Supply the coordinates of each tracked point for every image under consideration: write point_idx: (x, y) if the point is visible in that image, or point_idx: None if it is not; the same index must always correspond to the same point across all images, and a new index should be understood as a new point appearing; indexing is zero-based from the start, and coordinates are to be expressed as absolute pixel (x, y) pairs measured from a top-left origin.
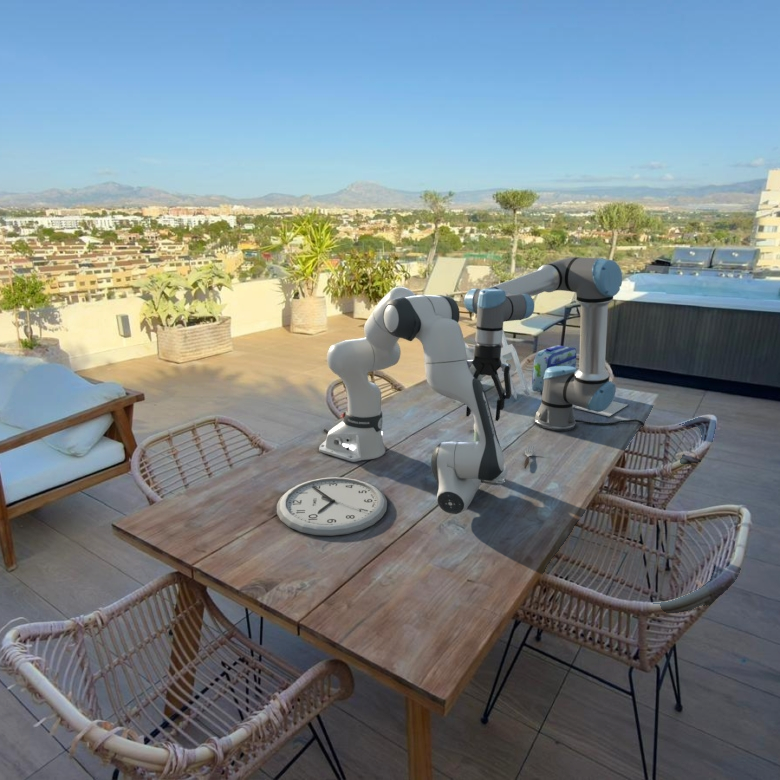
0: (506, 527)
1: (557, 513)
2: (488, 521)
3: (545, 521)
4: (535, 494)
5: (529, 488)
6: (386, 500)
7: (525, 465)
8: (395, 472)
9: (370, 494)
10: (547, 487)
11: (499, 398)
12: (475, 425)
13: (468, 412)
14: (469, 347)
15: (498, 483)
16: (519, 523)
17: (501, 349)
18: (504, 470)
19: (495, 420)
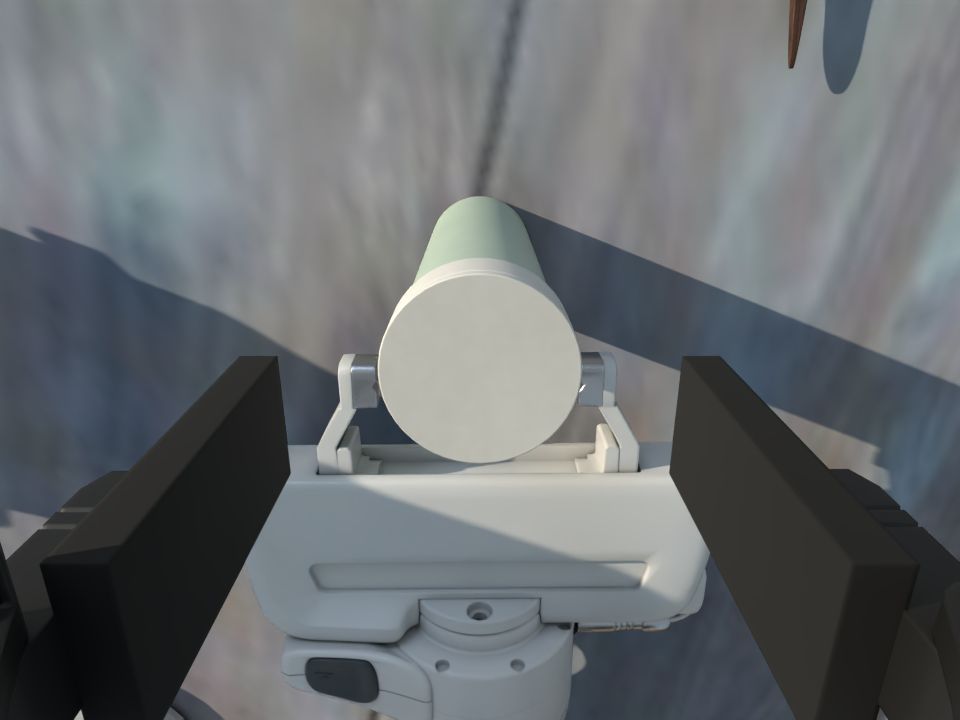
0: (704, 694)
1: (936, 522)
2: (627, 682)
3: None
4: (840, 382)
5: (809, 326)
6: (170, 715)
7: (797, 21)
8: (29, 447)
9: (82, 717)
10: (921, 269)
11: (868, 642)
12: (413, 438)
13: (268, 505)
14: None
15: (671, 618)
16: (756, 652)
17: None
18: (708, 555)
19: (672, 475)
